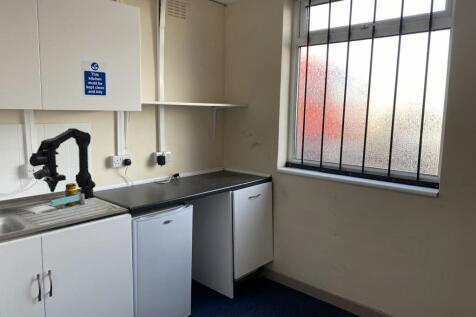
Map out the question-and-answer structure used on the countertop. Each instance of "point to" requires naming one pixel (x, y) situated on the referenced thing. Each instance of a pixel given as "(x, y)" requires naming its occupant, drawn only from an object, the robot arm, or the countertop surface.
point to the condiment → (71, 194)
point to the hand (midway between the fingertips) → (52, 192)
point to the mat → (40, 209)
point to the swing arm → (65, 200)
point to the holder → (78, 202)
